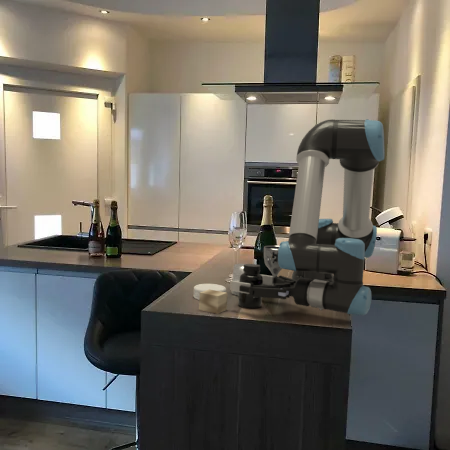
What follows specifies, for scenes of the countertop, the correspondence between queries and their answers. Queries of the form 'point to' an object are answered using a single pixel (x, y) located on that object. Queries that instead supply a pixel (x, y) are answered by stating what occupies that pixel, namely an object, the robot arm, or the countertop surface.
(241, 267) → the frosted glass cup
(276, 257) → the wine glass
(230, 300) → the countertop surface
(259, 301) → the supplement bottle
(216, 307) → the maple block
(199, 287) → the brie cheese wheel
